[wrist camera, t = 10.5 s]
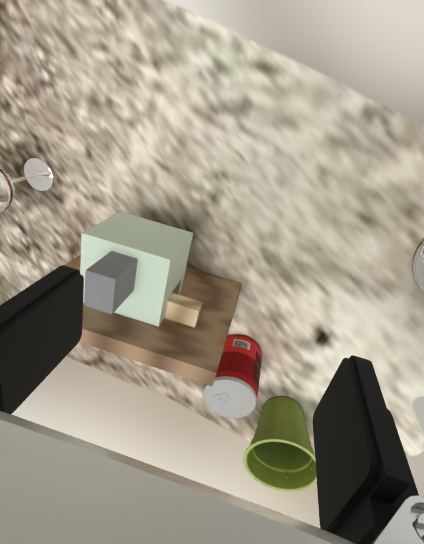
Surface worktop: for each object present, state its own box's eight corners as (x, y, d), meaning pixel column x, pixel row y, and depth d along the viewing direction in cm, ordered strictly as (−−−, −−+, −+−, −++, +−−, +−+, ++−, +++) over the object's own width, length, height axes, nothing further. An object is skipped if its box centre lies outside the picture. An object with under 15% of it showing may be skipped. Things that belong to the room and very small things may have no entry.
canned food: (209, 342, 57) (192, 388, 48) (247, 326, 54) (238, 372, 45) (231, 373, 59) (220, 424, 50) (270, 360, 56) (266, 411, 47)
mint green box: (193, 232, 42) (152, 281, 29) (181, 290, 46) (141, 354, 33) (120, 211, 42) (51, 249, 30) (115, 269, 46) (51, 324, 34)
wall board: (246, 270, 50) (222, 355, 32) (229, 323, 55) (201, 422, 37) (101, 227, 52) (5, 284, 34) (98, 282, 57) (12, 357, 39)
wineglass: (14, 149, 49) (-61, 159, 39) (54, 153, 48) (-11, 165, 38) (23, 194, 53) (-45, 214, 42) (61, 199, 51) (1, 221, 41)
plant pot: (317, 388, 57) (322, 446, 47) (314, 435, 62) (319, 497, 52) (249, 382, 59) (241, 436, 50) (252, 428, 64) (245, 485, 54)
